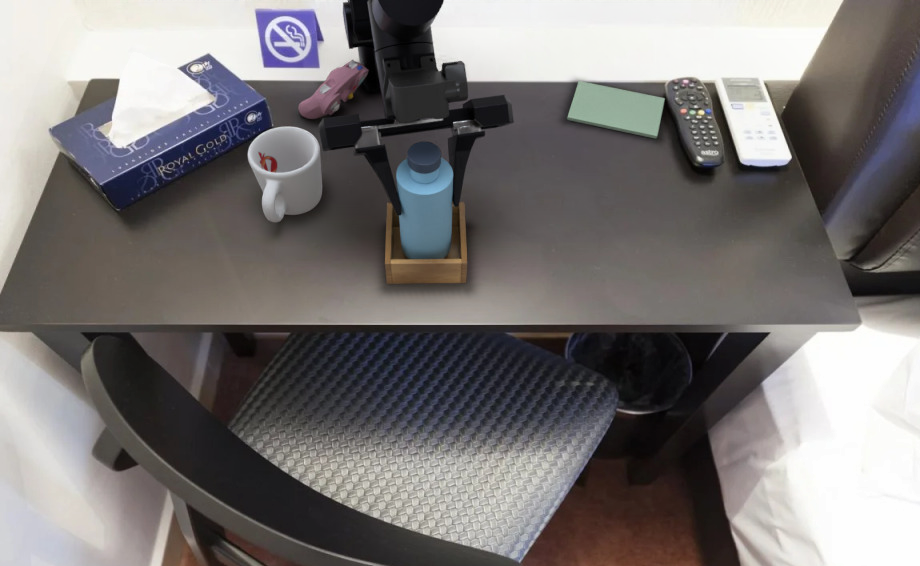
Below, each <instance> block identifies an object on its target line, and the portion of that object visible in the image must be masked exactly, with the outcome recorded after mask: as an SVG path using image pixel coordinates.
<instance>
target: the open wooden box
mask: <svg viewBox="0 0 920 566" xmlns="http://www.w3.org/2000/svg"><path fill="white" fill-rule="evenodd" d="M385 224H386V226H385V227H386V228H385V247H384V248H385V250H384V251H385V252H384V268H385V277H386V284H388V285H389V284H391V285H393V284H466V283H467V277H468V276H467V274H468V251H467V230H466V229H467V228H466V205H465V201H460V202H459V206H458V207H454V206H453V201H452V234H451V249H450V251H449V253H448V255H447V256H446V257H445V258H444V259H409V258H407V257H406V256H405V254H404V253H403V251H402V248H401V236H400V222H399V216H398V215H397V214H396V212H395V210H394V208H393V206H392V204H391V202H387V203H386V223H385Z"/></svg>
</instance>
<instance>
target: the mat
mask: <svg viewBox="0 0 920 566" xmlns="http://www.w3.org/2000/svg"><path fill="white" fill-rule="evenodd" d="M665 100H666V98H665V97H661V96H657V95H651V94H646V93H642V92H637V91H632V90H631V91H630V90H625V89H621V88H616V87H612V86H607V85H602V84H597V83H593V82H586V81H582V80H578V82H577V85H576V88H575V91H574V95H573V98H572V101H571V105H570V107H569V110H568V113H567V117H566V120H567V121H571V122H575V123H580V124H584V125H588V126H589V125H590V126H594V127H598V128H603V129H608V130H613V131H617V132H623V133H626V134H632V135H636V136H642V137H645V138H650V139H655V140H656V139H657V138H658V135H659V130H660V126H661V125H660V124H661V119H662V115H663V110H664V106H665Z"/></svg>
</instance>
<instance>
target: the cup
mask: <svg viewBox="0 0 920 566" xmlns="http://www.w3.org/2000/svg"><path fill="white" fill-rule="evenodd" d="M247 161H248V163H249V166H250V167H251V170H252V173H253V174H254V176H255V178H256V181H257V183H258V185H259V187H260V190H261V191H262V197H261V206H262V211H263V215H264V216H265V218H266V219H267V220H268V221H269V222H272V223H279V222H281V221H282V220H283V218H284V216H286V215H287V216H298V215H302V214H305V213H307V212H310V211H312V210H313V209H315V207H316V206H317V205H318V204H319V203H320V201H321V199H322V195H323V175H322V174H323V173H322V160H321V147H320V143H319V141H318V140H317V138H316V136H315V135H313V134H312V133H311V132H309V131H308V130H306V129H304V128H301V127H297V126H290V125H289V126H279V127H273V128H270V129H267V130H266V131H264V132H262V133H260V134H259V135H258V136H256V137H255V138H254V139H253V141H251V143H250V145H249V146H248V150H247Z"/></svg>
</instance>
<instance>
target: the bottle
mask: <svg viewBox="0 0 920 566" xmlns="http://www.w3.org/2000/svg"><path fill="white" fill-rule="evenodd" d="M395 177H396V178H395V179H396V180H395V181H396V190H397V193H398V197H399V201H400V208H401V215H399V222H400V236H401V248H402V251H403V253H404V254H405V256H406V257H407V258H409V259H444V258H445V257H446V256H447V255H448V253H449V251H450V249H451V234H452V202H453V201H452V199H453V170H452V167H451V166H450V164H449V161H447V160H446V159H445V158H443V157H442V150H441V149H440V147H439V146H438V145H437V144H436V143H433V142H431V141H418V142H415V143H413V144H412V145H411V146H409V148H408V150H407V157H406V158H405V159H403V160H402V161H401V163H399V165H398V166H397V169H396V173H395Z"/></svg>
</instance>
